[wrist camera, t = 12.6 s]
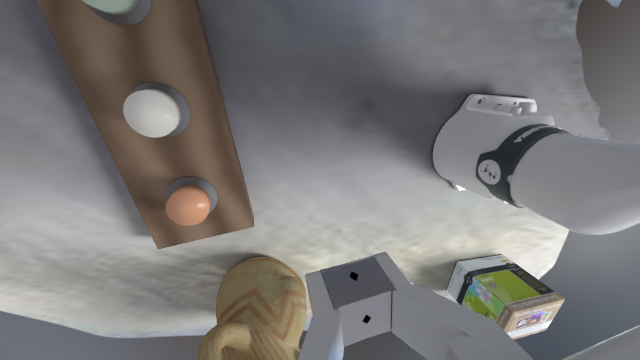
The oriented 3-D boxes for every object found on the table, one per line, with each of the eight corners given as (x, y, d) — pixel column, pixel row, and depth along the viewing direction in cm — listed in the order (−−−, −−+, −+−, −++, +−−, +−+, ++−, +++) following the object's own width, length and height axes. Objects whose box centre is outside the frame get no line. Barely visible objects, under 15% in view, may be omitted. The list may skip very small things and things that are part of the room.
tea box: (445, 290, 64) (495, 346, 51) (456, 259, 60) (513, 311, 47) (490, 282, 68) (548, 332, 55) (503, 253, 64) (568, 299, 51)
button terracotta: (204, 181, 33) (202, 187, 31) (215, 213, 35) (213, 220, 33) (164, 189, 32) (159, 196, 30) (177, 221, 34) (173, 229, 32)
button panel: (173, -90, 26) (163, -110, 23) (253, 216, 42) (254, 227, 39) (11, -91, 23) (-22, -114, 20) (164, 237, 39) (157, 250, 36)
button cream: (172, 86, 28) (167, 87, 26) (187, 129, 30) (183, 133, 28) (123, 92, 27) (114, 93, 25) (142, 137, 29) (135, 141, 27)
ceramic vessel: (264, 326, 52) (276, 513, 30) (183, 286, 43) (115, 508, 21) (323, 275, 51) (381, 430, 29) (252, 222, 42) (257, 389, 20)
